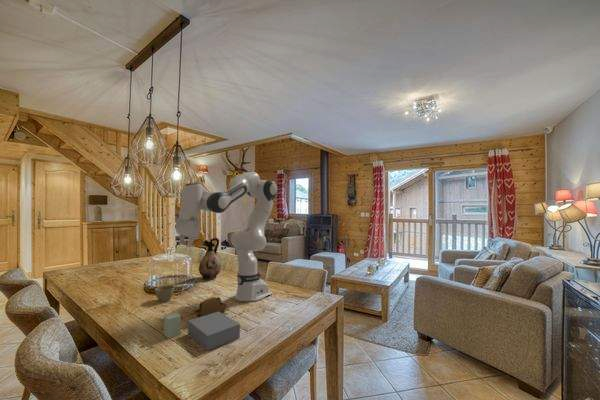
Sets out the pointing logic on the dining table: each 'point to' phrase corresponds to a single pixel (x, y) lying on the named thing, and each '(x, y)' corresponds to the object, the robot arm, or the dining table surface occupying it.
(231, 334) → the slate block
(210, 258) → the ceramic jug
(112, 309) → the dining table surface
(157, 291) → the flower pot
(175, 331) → the sage block
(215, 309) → the wooden carving
